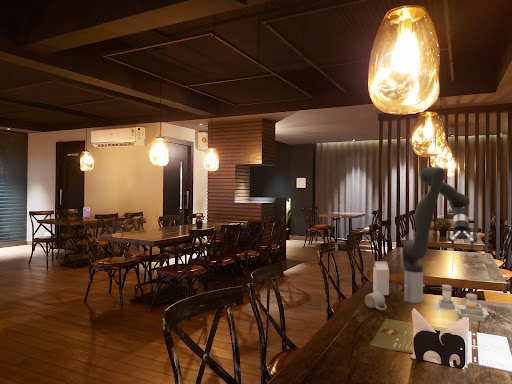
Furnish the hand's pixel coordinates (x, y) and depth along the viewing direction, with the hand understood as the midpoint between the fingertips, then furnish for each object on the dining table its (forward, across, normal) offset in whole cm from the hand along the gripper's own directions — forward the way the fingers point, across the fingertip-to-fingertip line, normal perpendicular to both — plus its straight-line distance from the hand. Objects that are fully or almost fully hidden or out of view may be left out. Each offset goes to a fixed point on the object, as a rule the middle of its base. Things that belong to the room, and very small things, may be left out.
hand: (462, 247), depth 201 cm
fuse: (+29, -8, +13) cm, 33 cm away
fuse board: (+30, -2, +13) cm, 33 cm away
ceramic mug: (+39, -41, +5) cm, 57 cm away
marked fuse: (+38, +2, +5) cm, 38 cm away
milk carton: (+20, -42, +24) cm, 52 cm away
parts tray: (+38, +2, +5) cm, 39 cm away
